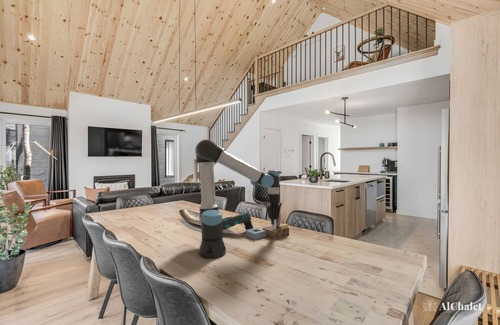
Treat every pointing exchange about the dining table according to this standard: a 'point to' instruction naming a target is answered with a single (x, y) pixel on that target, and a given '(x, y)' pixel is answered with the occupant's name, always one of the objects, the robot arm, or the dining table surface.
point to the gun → (238, 221)
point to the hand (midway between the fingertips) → (273, 228)
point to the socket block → (276, 232)
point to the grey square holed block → (256, 233)
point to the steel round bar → (278, 222)
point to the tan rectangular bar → (283, 226)
